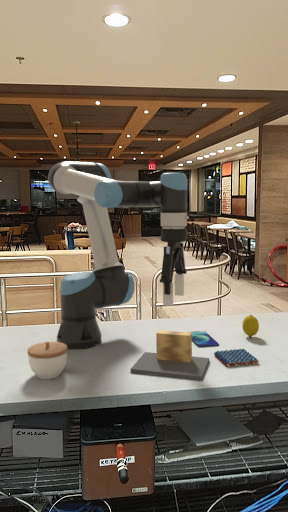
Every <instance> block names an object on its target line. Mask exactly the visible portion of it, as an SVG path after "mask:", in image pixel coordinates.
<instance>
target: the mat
mask: <svg viewBox="0 0 288 512" xmlns="http://www.w3.org/2000/svg"><path fill="white" fill-rule="evenodd" d="M209 363H210V357H204V356H203V357H202V356H193V355H192V360H191V361H190V363H189V362H179V361H169V360H159V359H157V352H150V351H148V352H147V351H146V352H145V351H144V353H143V354H142V355H141V356H140V357H139V358H138V359H137V360H136V361H135V363H134V364H133V365H132V367H131V368H130V373H135V374H142V375H143V374H144V375H150V376H151V375H153V376H160V377H171V378H179V379H190V380H196V381H203V377H204V376H205V373H206V371H207V368H208V366H209Z"/></svg>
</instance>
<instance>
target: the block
mask: <svg viewBox="0 0 288 512" xmlns="http://www.w3.org/2000/svg"><path fill="white" fill-rule="evenodd" d="M189 332H190V331H188V332H187V331H174V330H173V331H172V330H160V329H159V330H157V332H156V336H155V338H156V341H155V342H156V344H155V345H156V353H157V359H159V360H169V361H179V362H189V363H190V361H191V360H192V356H193V351H192V350H193V342H192V333H189Z"/></svg>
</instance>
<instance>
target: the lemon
mask: <svg viewBox="0 0 288 512" xmlns="http://www.w3.org/2000/svg"><path fill="white" fill-rule="evenodd" d="M259 323H260V322H259V320H258V319H257V317H256V316H254V315H252V314H249V315H247V316H246V317H245V318H244V319H243V321H242V324H241V325H242V326H241V327H242V330H243V332H244V334H245V335H247V336H248V337H250V338H251V337H254V336H255V335H257V334H258V332H259V330H260V329H259V328H260V327H259V326H260V324H259Z"/></svg>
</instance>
